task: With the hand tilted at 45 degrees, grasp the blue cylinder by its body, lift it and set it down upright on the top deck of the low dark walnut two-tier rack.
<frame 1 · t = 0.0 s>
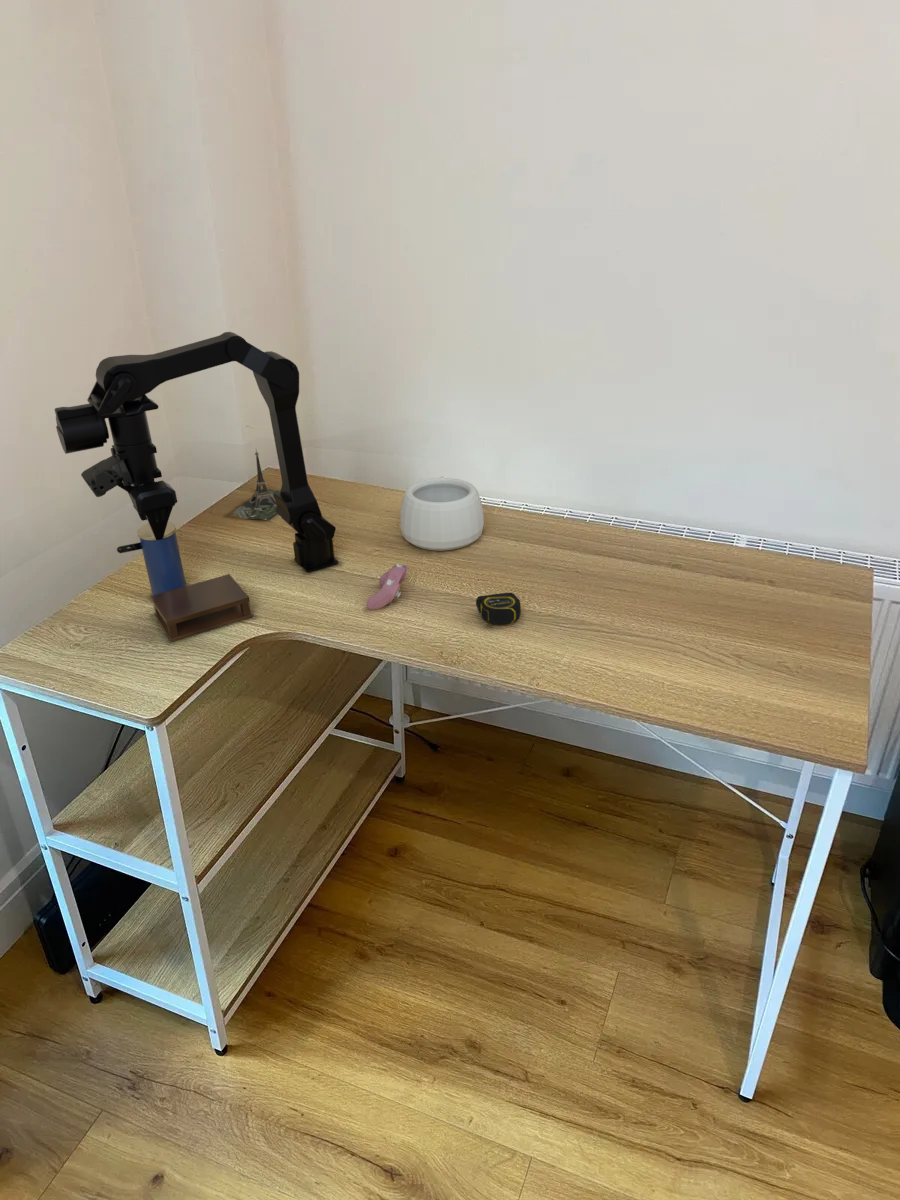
hand: (151, 529, 144), 15 cm above the table, tool pointing down, fingers open, 9 cm apart
white round bowl: (442, 531, 174), on the table
tape measure: (497, 618, 145), on the table
video game controller: (389, 599, 151), on the table
blue cylinder: (170, 594, 154), on the table
eiffel tower figurine: (265, 507, 188), on the table
rack: (203, 616, 147), on the table
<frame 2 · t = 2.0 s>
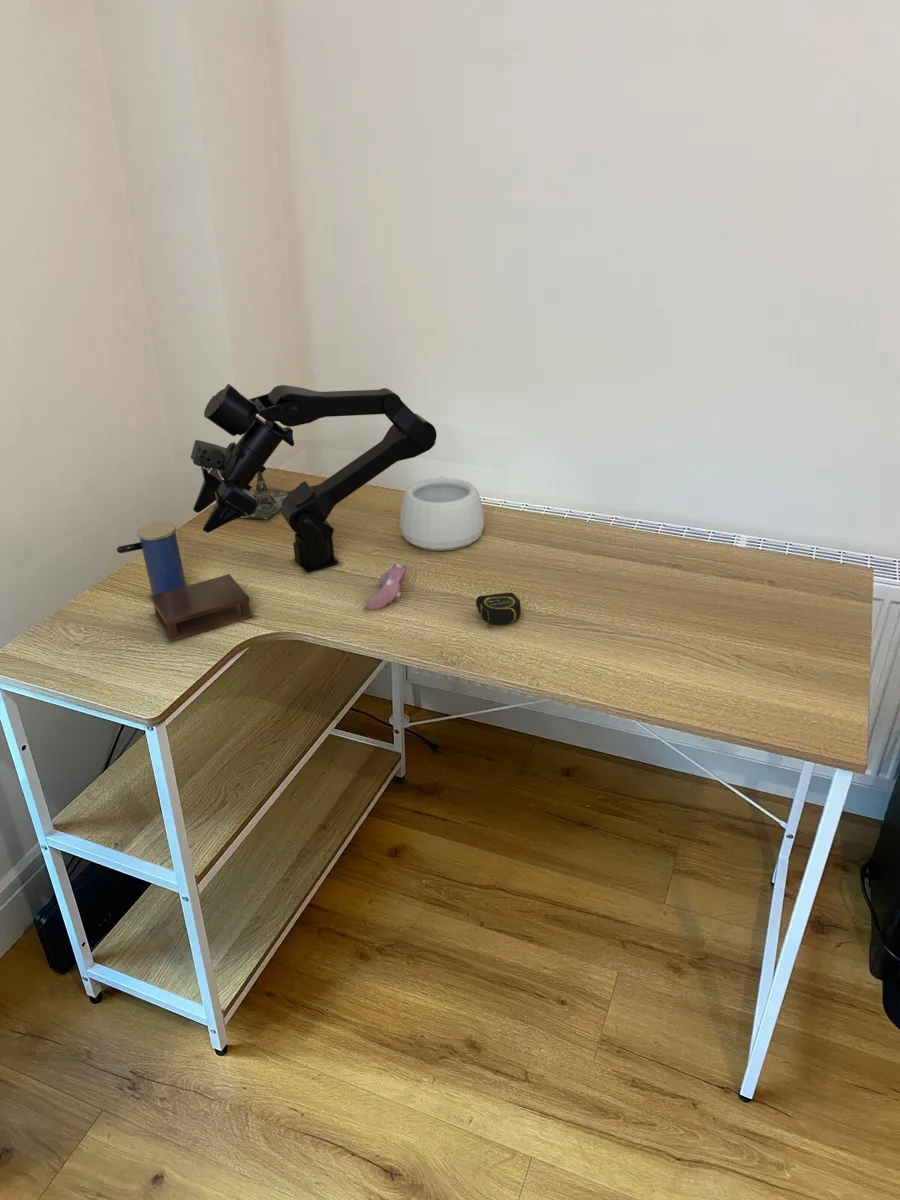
hand: (200, 521, 150), 13 cm above the table, tool tilted 45°, fingers open, 9 cm apart
nothing on the table moved.
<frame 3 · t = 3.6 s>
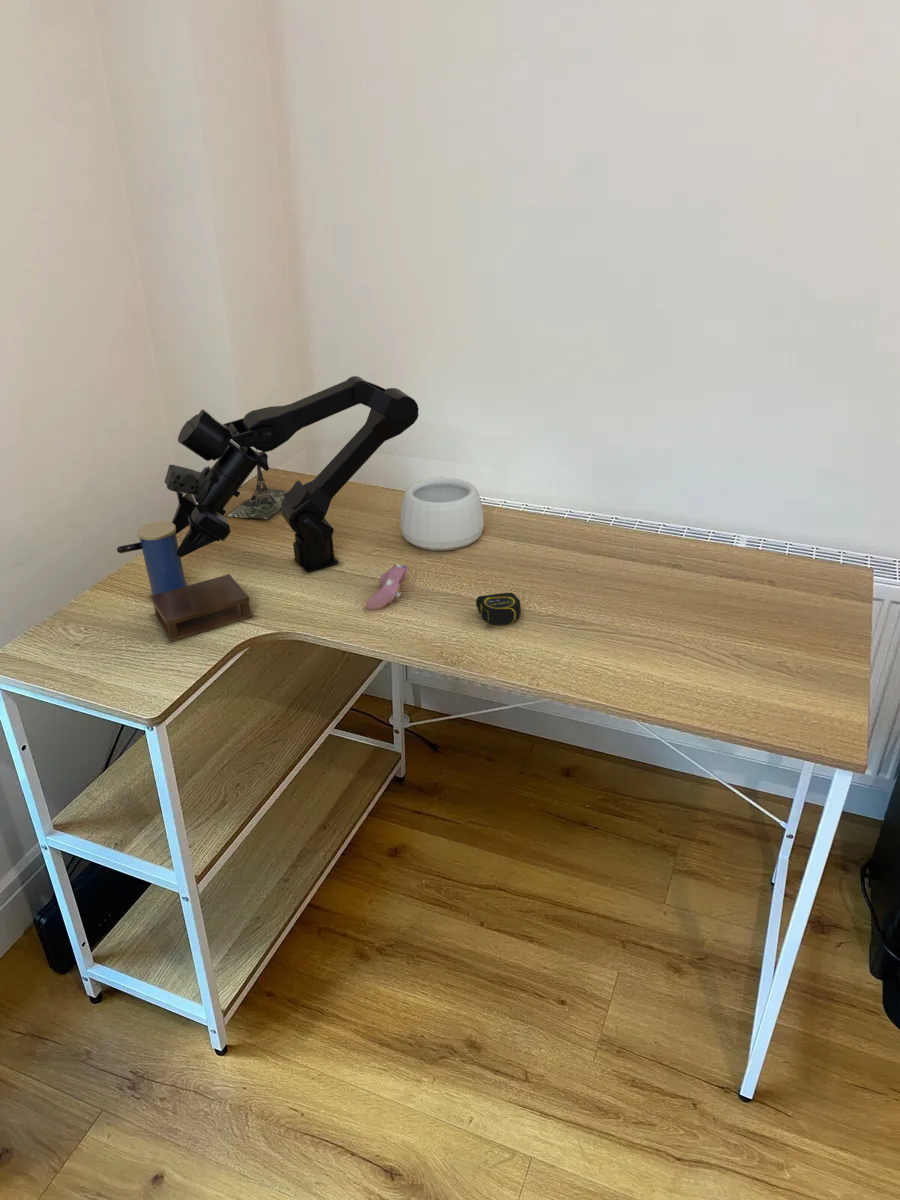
hand: (174, 544, 150), 9 cm above the table, tool tilted 45°, fingers open, 9 cm apart
nothing on the table moved.
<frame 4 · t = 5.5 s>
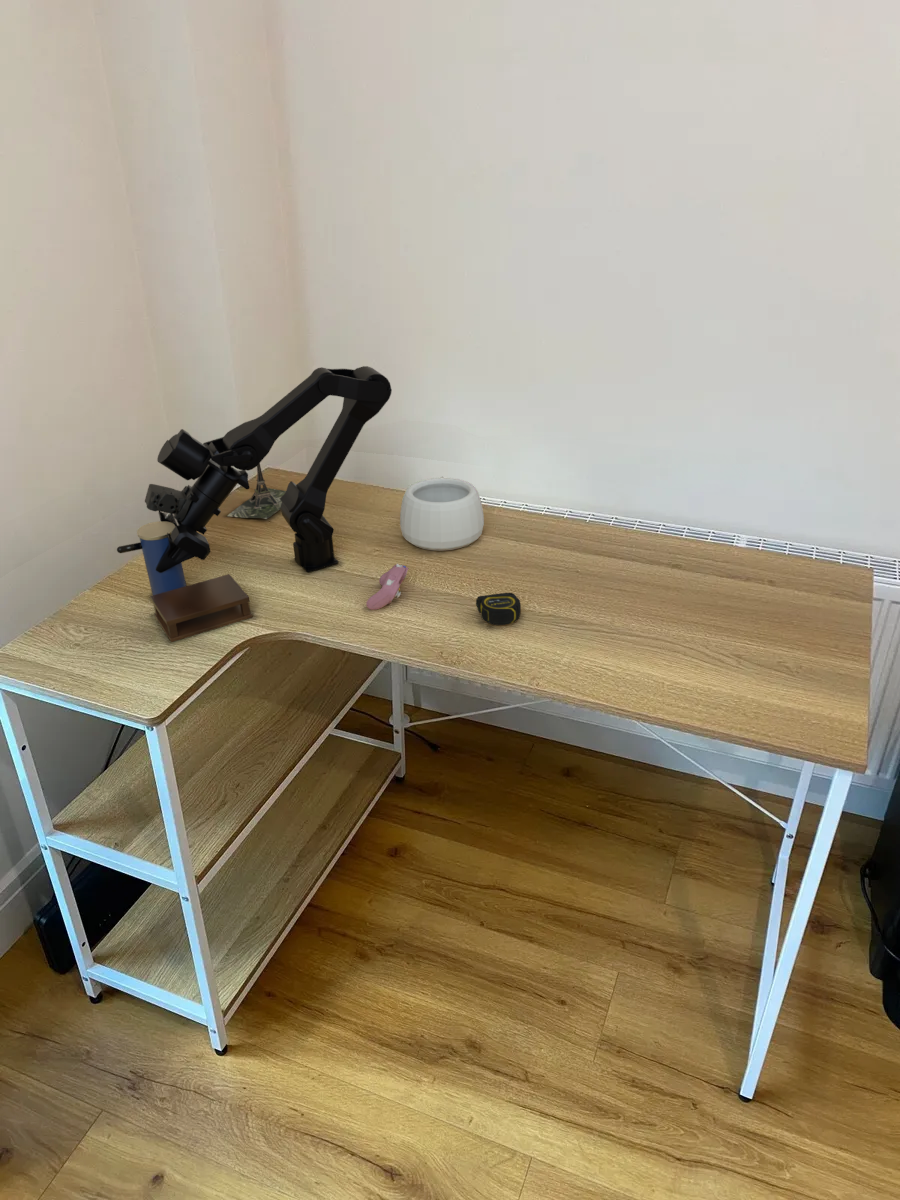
hand: (155, 563, 150), 7 cm above the table, tool tilted 45°, fingers closed on blue cylinder, 6 cm apart
blue cylinder: (170, 594, 154), on the table, touching gripper
everything else where it was.
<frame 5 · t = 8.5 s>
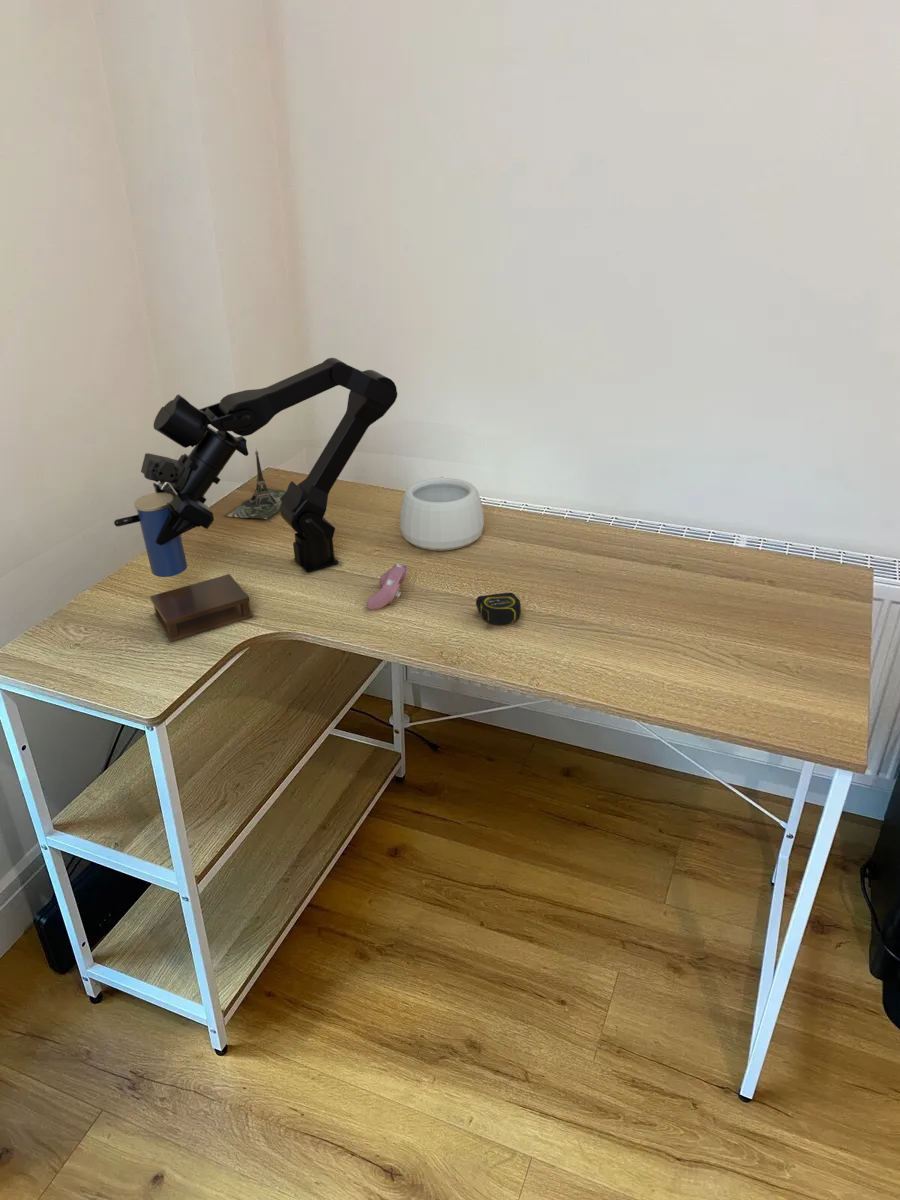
hand: (153, 536, 146), 13 cm above the table, tool tilted 45°, fingers closed on blue cylinder, 6 cm apart
blue cylinder: (169, 568, 150), point 6 cm above the table, touching gripper
everything else where it was.
when the fingers open (11 cm above the table, at t = 11.5 s): blue cylinder stays where it is, resting on rack.
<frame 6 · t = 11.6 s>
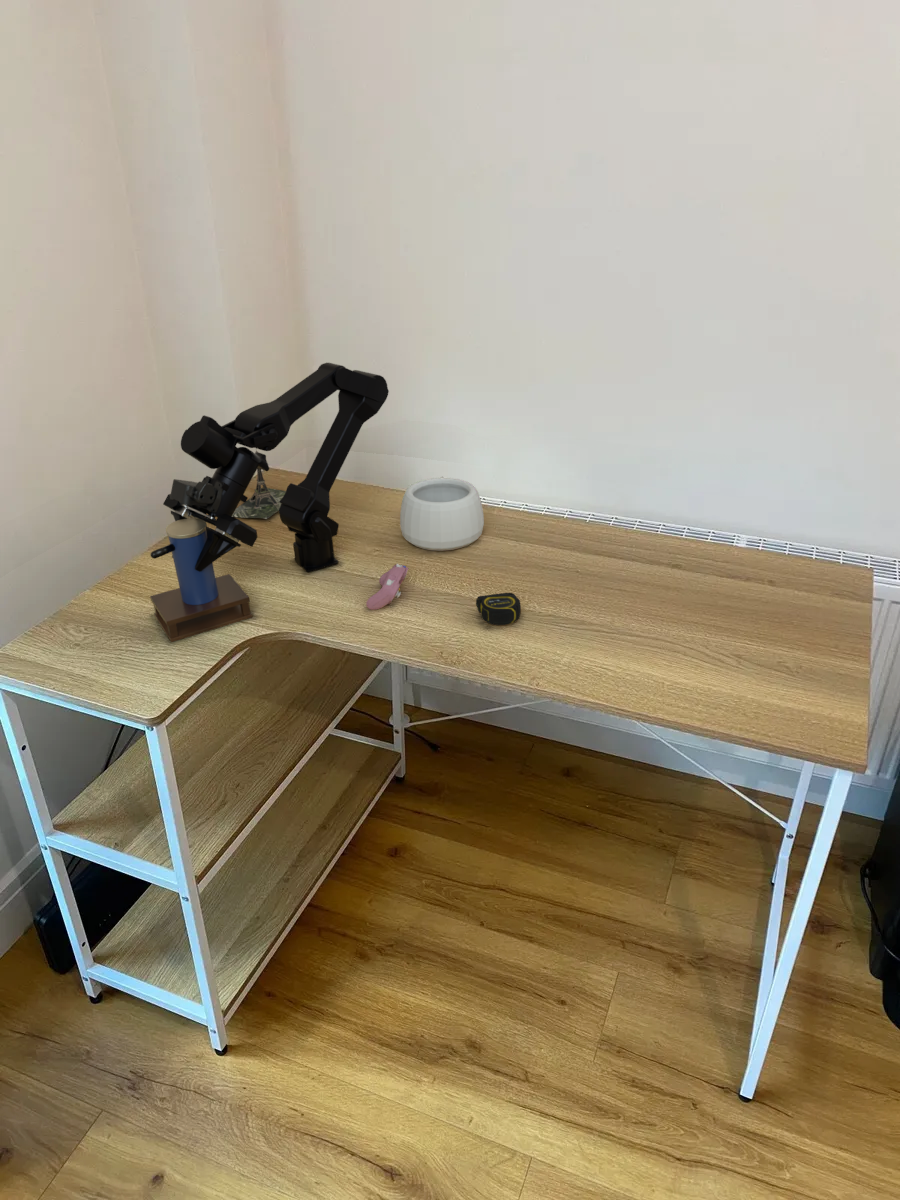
hand: (185, 564, 141), 11 cm above the table, tool tilted 45°, fingers open, 6 cm apart
blue cylinder: (200, 596, 145), point 4 cm above the table, touching rack
everything else where it was.
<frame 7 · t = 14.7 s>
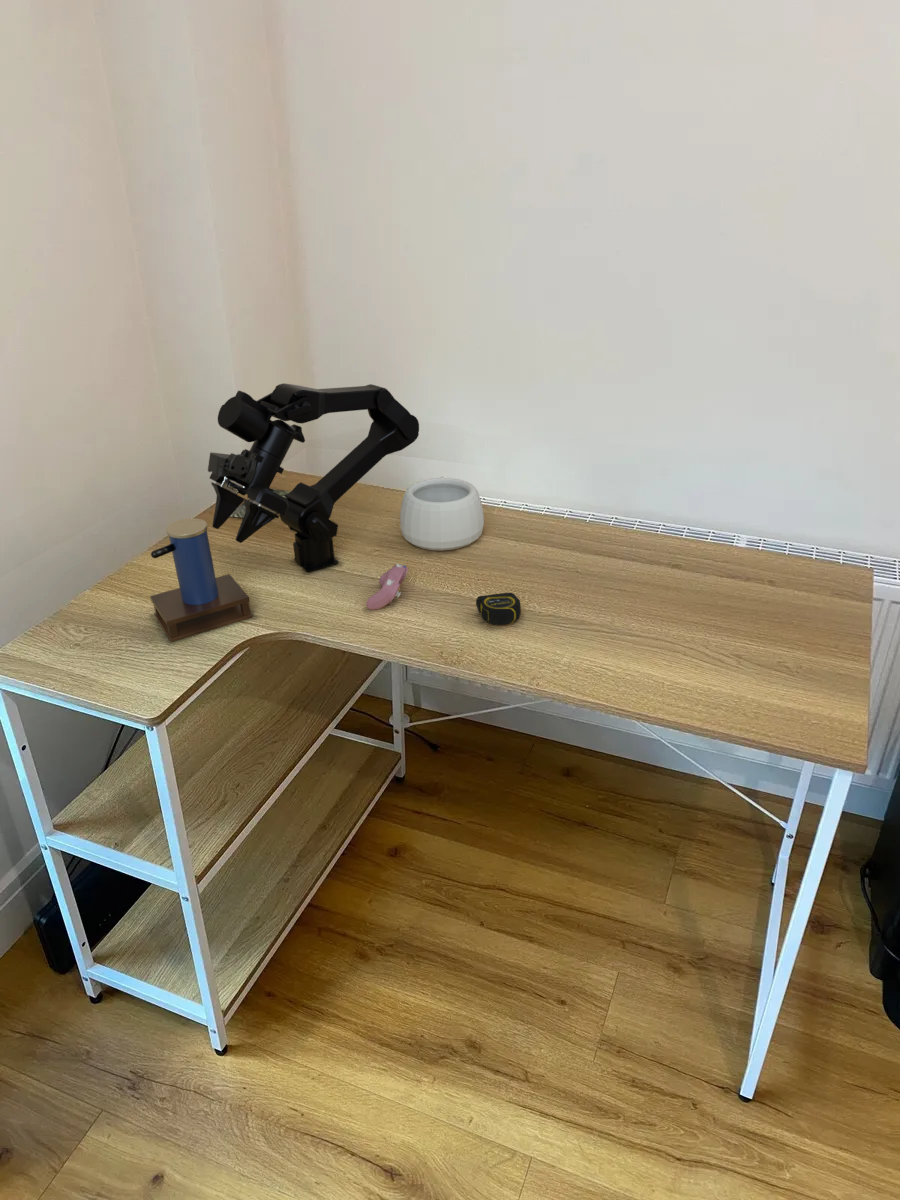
hand: (226, 534, 147), 12 cm above the table, tool tilted 40°, fingers open, 9 cm apart
nothing on the table moved.
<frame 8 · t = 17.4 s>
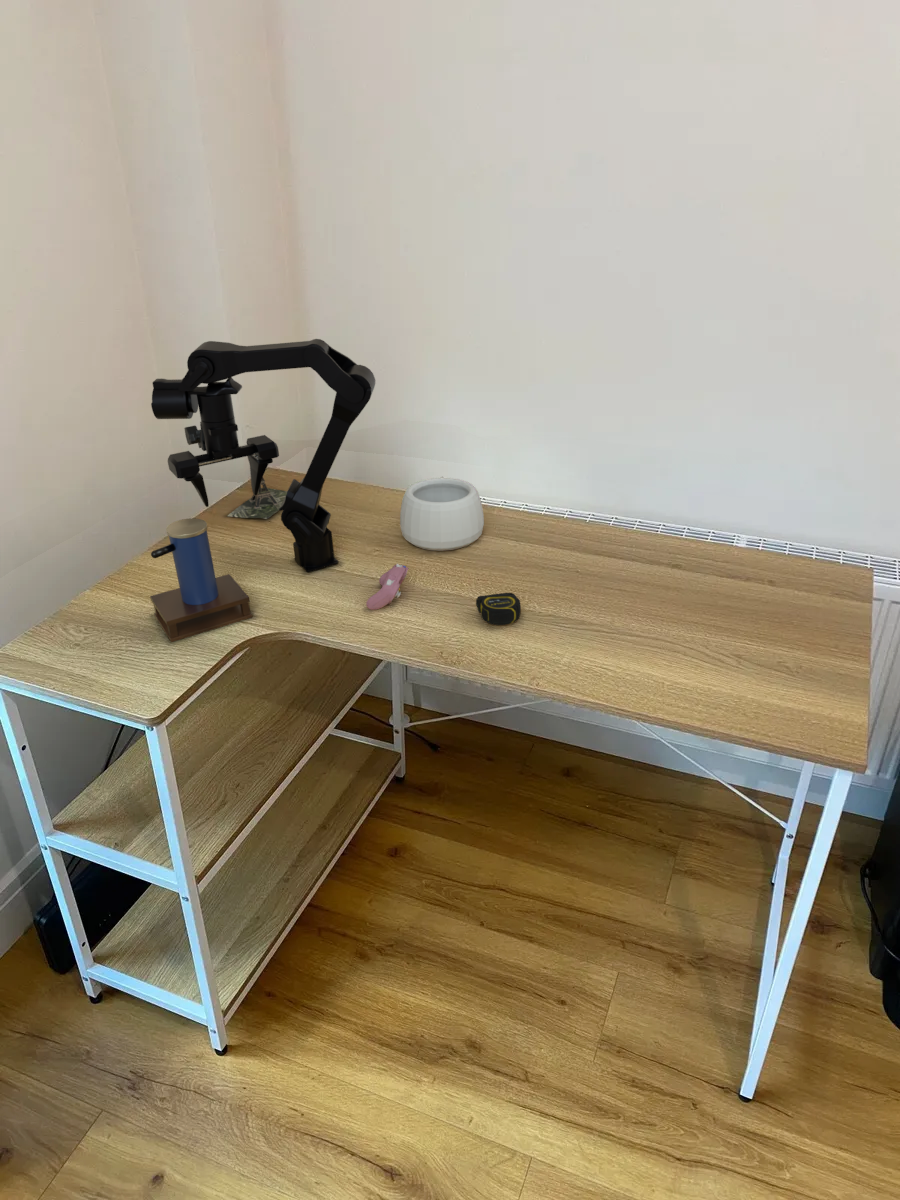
hand: (231, 500, 158), 13 cm above the table, tool pointing down, fingers open, 9 cm apart
nothing on the table moved.
at the end: blue cylinder 0.2 cm off-centre on the rack, point 4.0 cm above the rack's base; blue cylinder tilted 0°; the gripper is holding nothing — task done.
